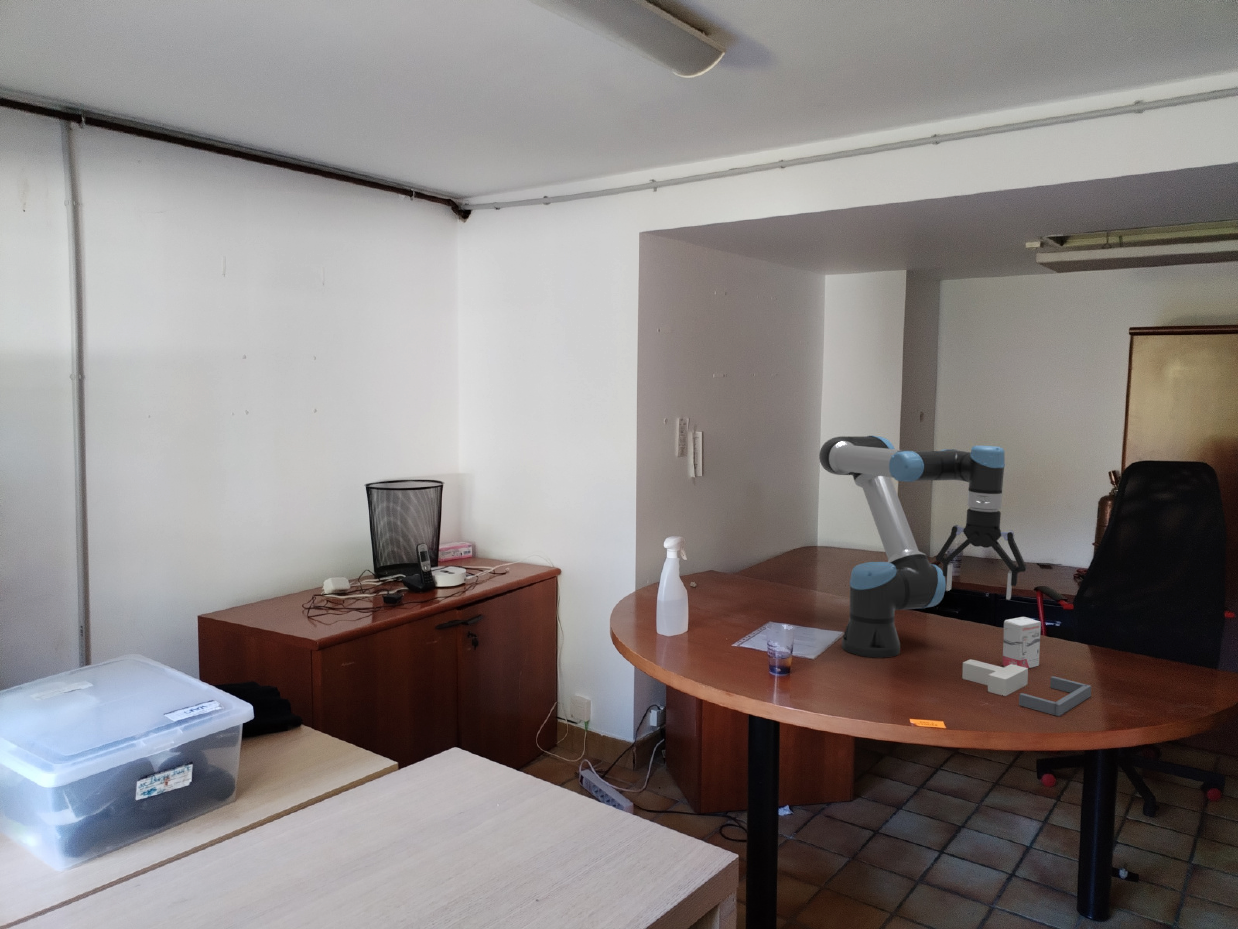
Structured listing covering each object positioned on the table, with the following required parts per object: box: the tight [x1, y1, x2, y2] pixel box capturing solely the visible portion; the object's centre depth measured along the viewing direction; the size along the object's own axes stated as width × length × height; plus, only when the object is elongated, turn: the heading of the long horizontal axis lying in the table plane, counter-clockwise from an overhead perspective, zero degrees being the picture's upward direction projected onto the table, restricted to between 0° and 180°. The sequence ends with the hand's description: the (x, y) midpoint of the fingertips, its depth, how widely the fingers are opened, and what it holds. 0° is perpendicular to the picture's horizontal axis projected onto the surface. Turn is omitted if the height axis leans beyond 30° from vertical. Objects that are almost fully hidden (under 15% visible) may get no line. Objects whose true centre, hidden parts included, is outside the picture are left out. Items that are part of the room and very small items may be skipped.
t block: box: [962, 658, 1029, 697], centre depth 189 cm, size 12×12×4 cm
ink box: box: [1002, 616, 1042, 669], centre depth 202 cm, size 9×5×12 cm, turn 118°
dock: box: [1018, 675, 1092, 717], centre depth 178 cm, size 8×18×2 cm, turn 131°
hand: (978, 594), depth 195 cm, fingers open, 13 cm apart
